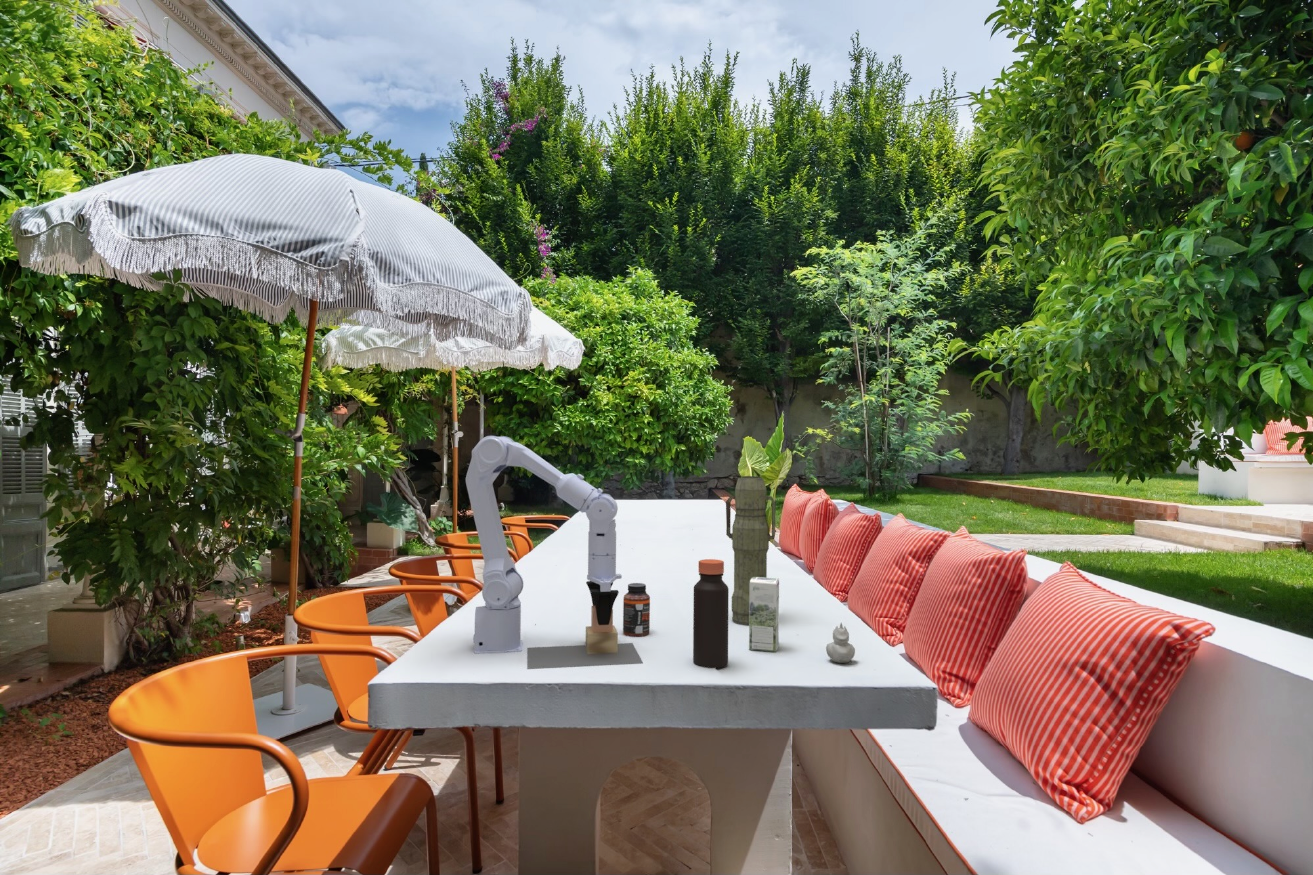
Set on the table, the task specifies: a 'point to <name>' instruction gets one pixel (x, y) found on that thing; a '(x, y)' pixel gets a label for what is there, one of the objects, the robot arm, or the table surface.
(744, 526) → the thermos
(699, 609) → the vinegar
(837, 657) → the rubber duck
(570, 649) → the mat
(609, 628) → the terracotta block
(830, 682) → the table surface
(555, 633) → the table surface
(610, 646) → the oak block
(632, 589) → the supplement bottle
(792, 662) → the table surface
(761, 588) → the syrup box
